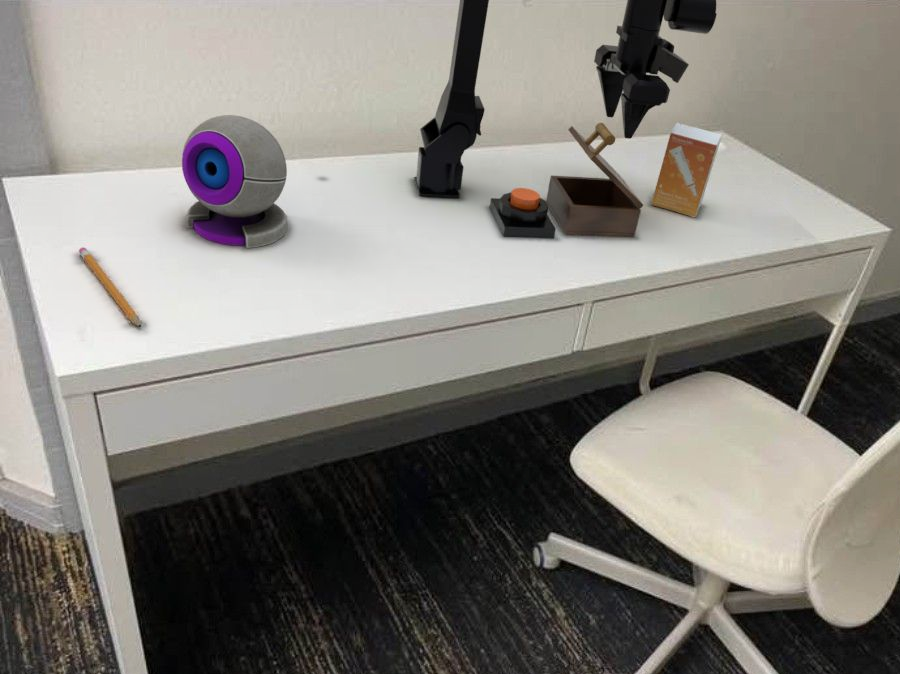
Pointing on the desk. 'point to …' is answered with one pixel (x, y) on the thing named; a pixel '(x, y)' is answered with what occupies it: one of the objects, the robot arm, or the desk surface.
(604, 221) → the storage box
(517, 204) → the release button
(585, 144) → the lid
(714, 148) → the small box
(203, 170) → the webcam
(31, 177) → the desk surface
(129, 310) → the pencil
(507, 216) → the panel
